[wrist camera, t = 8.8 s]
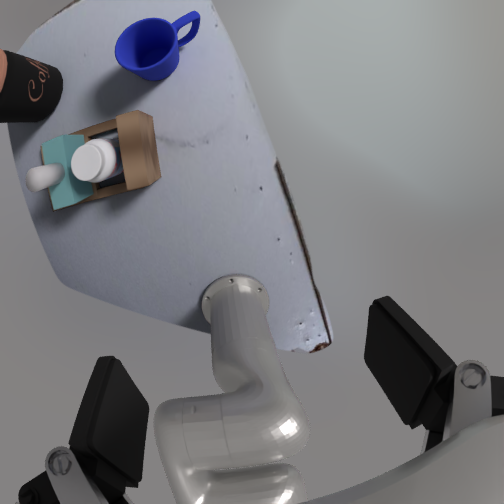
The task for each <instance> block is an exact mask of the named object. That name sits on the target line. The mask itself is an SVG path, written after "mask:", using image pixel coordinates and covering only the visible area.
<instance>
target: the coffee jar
mask: <svg viewBox="0 0 504 504" xmlns="http://www.w3.org/2000/svg"><path fill="white" fill-rule="evenodd" d="M62 91H63V79H62V76H61V73H60V71H59V70H58V69H57V68H55V67H53V66H50V65H47V64H45V63H42V62H39V61H37V60H34V59H31V58H28V57H25V56H22V55H19V54H16V53H13V52H9V51H6V50H2V49H0V123H10V122H38V121H41V120H43V119H44V118H46V117H47V116H48V115H49V114H51V112H52V111H53V110H54V108H55V107H56V106H57V104H58V102H59V100H60V98H61V94H62Z"/></svg>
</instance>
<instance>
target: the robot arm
mask: <svg viewBox="0 0 504 504" xmlns="http://www.w3.org/2000/svg"><path fill="white" fill-rule="evenodd" d="M230 279H232V280H230ZM207 296H208V297H207ZM268 309H269V297H268V294H267V291H266V289H265V288H264V286H263V285H262V284H261V283H260V282H259V281H257V280H256V279H254V278H252V277H250V276H246V275H240V274H234V275H227V276H224V277H221V278H219V279H217V280H216V281H214V282H213V283H211V284H210V286H209V287H208V288H207V289H206V291H205V292H204V295H203V298H202V312H203V315H204V317H205V319H206V320H207V321H208V322H209V324H211V347H212V367H213V374H214V377H215V380H216V382H217V383H218V385H219V386H220V387H221V389H222V390H223V391H224V392H225V393H222V394H217V395H208V396H199V397H187V398H178V399H171V400H167V401H165V402H163V403H161V404H160V405H159V406H158V408H157V410H156V412H155V415H154V434H155V439H156V444H157V447H158V451H159V454H160V458H161V461H162V464H163V467H164V470H165V473H166V476H167V479H168V482H169V485H170V487H171V490H172V493H173V495H174V498H175V500H176V503H177V504H504V377H498V376H490V373H489V370H488V369H487V367H486V366H484V365H483V364H482V363H481V362H479V361H475V360H467V361H464V362H462V363H461V364H459V365H458V366H457V365H456V364H455V362H453V360H452V359H451V358H450V357H449V356H448V355H447V354H446V353H445V352H444V351H443V350H442V348H441V347H440V346H439V345H438V344H437V343H436V342H435V341H434V340H433V339H432V338H431V337H430V336H429V335H428V334H427V333H426V332H425V331H424V330H423V329H422V328H421V327H420V326H419V325H418V324H417V323H416V322H415V321H414V320H413V319H412V318H411V317H410V316H409V315H408V314H407V313H406V312H405V311H404V310H403V309H402V308H401V307H400V306H399V305H398V304H397V303H396V302H395V301H394V300H393V299H392V298H391V297H389V296H385V297H382V298H379V299H376V300H374V301H373V304H372V305H371V306H370V307H369V316H368V327H367V337H366V345H365V353H364V359H365V363H366V365H367V366H368V368H369V369H370V371H371V372H372V374H373V375H374V377H375V378H376V380H377V382H378V383H379V385H380V386H381V387H382V389H383V391H384V393H385V394H386V395H387V397H388V399H389V400H390V402H391V404H392V405H393V407H394V408H395V410H396V412H397V413H398V415H399V416H400V418H401V420H402V421H403V423H404V424H405V425H408V424H409V425H410V427H411V429H414V428H416V427H417V426H419V425H421V424H423V426H424V427H425V429H426V432H425V437H424V441H423V446H422V450H421V454H420V455H419V456H417V457H416V458H414V459H412V460H410V461H408V462H406V463H404V464H402V465H400V466H398V467H396V468H395V469H392V470H390V471H388V472H386V473H384V474H382V475H380V476H377V477H375V478H373V479H370V480H368V481H366V482H363V483H361V484H358V485H356V486H353V487H350V488H348V489H345V490H342V491H339V492H336V493H333V494H330V495H327V496H323V497H320V498H317V499H313V500H310V501H308V498H307V492H306V488H305V483H304V480H303V477H302V475H301V473H300V471H299V470H298V469H297V468H296V467H294V466H293V465H290V464H285V463H276V464H268V463H272V462H277V461H280V460H283V459H286V458H289V457H291V456H293V455H295V454H296V453H298V452H299V451H301V450H302V449H303V448H304V446H305V445H306V444H307V442H308V439H309V435H310V424H309V420H308V417H307V414H306V411H305V409H304V407H303V405H302V403H301V402H300V400H299V399H298V397H297V395H296V394H295V392H294V390H293V388H292V387H291V385H290V383H289V381H288V379H287V377H286V374H285V372H284V369H283V367H282V364H281V361H280V358H279V355H278V352H277V349H276V346H275V343H274V340H273V337H272V333H271V330H270V327H269V324H268V321H267V318H266V314H267V312H268ZM148 415H149V405H148V403H147V401H146V400H145V398H144V397H143V395H142V394H141V392H140V391H139V389H138V388H137V387H136V385H135V384H134V382H133V380H132V379H131V377H130V376H129V374H128V373H127V371H126V370H125V368H124V367H123V365H122V363H121V361H120V360H118V359H116V358H115V357H114V356H104V357H99V358H98V360H97V362H96V365H95V367H94V370H93V372H92V375H91V377H90V380H89V383H88V385H87V388H86V391H85V394H84V396H83V399H82V402H81V405H80V408H79V411H78V414H77V417H76V420H75V423H74V426H73V430H72V433H71V436H70V440H69V445H70V449H68V448H67V447H62V446H61V447H56V448H54V449H52V450H51V451H50V452H49V453H48V455H47V457H46V460H45V468H46V471H45V472H43V473H41V474H40V475H38V476H37V477H35V478H34V479H32V480H31V481H29V482H27V483H26V484H24V485H23V486H22V487H21V489H20V490H19V495H18V496H19V503H20V504H134V503H133V502H132V501H131V500H130V498H129V497H128V496H127V494H126V493H125V487H136V488H138V482H140V481H141V479H142V471H143V460H144V449H145V440H146V431H147V423H148ZM262 464H266V465H262ZM256 465H259V466H256ZM249 466H252V467H249ZM242 467H244V468H242ZM229 468H235V469H229ZM218 469H226V470H218ZM19 503H18V502H16V503H15V504H19Z"/></svg>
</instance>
